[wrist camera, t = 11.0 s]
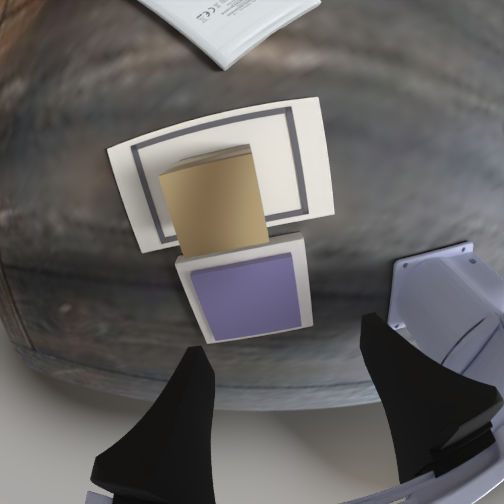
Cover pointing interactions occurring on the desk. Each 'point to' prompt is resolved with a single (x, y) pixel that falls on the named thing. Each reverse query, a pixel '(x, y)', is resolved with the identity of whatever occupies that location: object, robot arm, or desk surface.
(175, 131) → the print card
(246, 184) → the stamp
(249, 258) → the ink pad
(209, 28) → the external hard drive
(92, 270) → the desk surface
